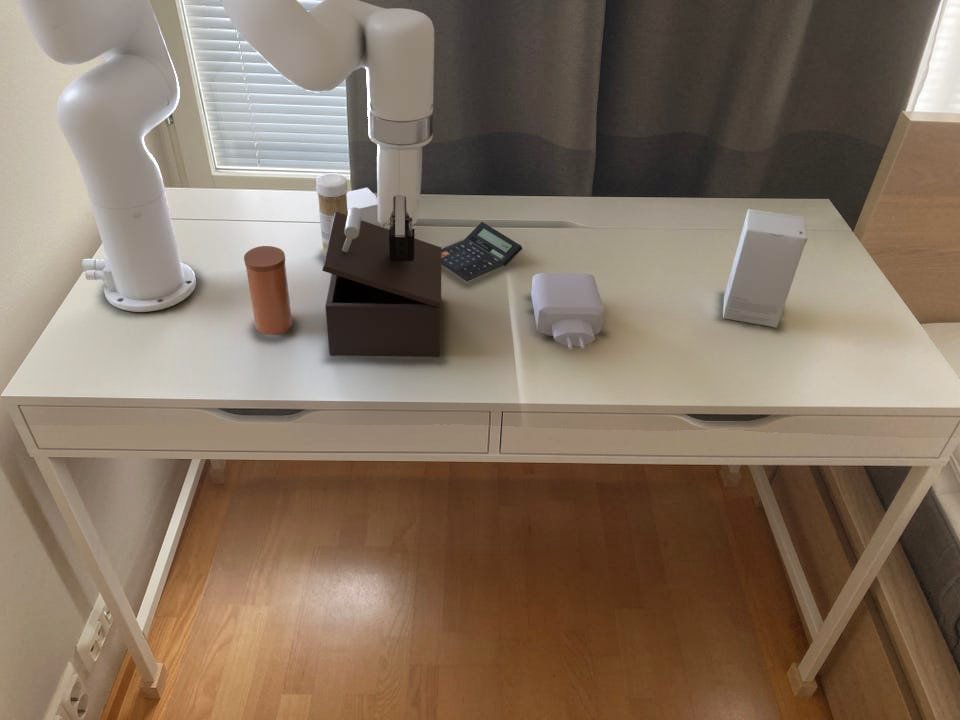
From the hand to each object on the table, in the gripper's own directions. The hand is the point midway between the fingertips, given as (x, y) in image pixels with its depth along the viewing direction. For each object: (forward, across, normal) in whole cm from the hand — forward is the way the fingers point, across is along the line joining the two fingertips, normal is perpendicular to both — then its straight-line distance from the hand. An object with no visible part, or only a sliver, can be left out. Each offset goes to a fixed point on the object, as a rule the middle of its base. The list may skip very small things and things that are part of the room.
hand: (402, 257), depth 105 cm
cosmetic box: (+12, -6, +52) cm, 54 cm away
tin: (+12, 0, -18) cm, 22 cm away
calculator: (+12, -19, +11) cm, 25 cm away
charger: (+12, -1, +24) cm, 27 cm away
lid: (+1, 0, -2) cm, 2 cm away
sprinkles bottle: (+12, -19, -11) cm, 25 cm away
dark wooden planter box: (+12, 0, -2) cm, 12 cm away
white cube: (+12, -27, -8) cm, 31 cm away
